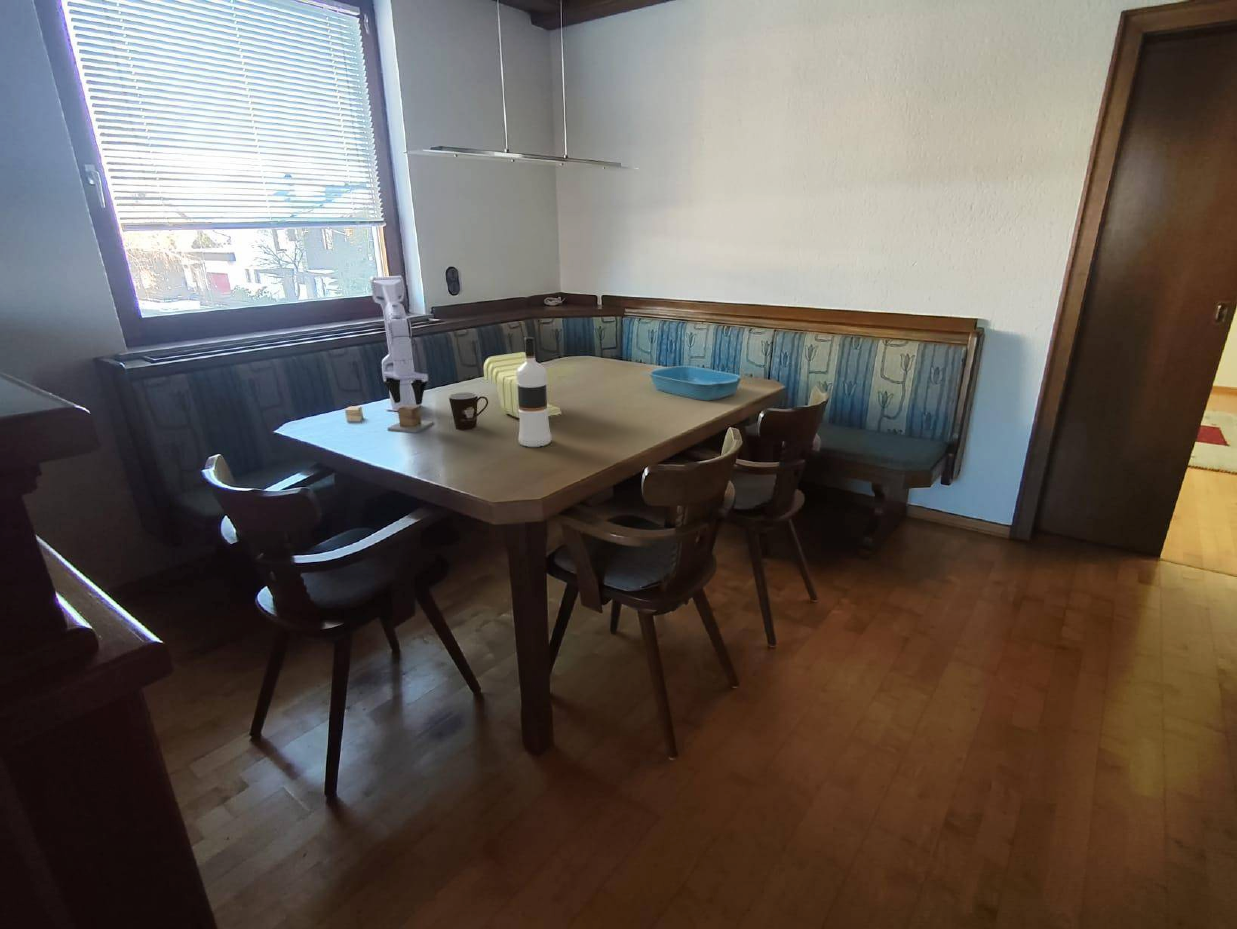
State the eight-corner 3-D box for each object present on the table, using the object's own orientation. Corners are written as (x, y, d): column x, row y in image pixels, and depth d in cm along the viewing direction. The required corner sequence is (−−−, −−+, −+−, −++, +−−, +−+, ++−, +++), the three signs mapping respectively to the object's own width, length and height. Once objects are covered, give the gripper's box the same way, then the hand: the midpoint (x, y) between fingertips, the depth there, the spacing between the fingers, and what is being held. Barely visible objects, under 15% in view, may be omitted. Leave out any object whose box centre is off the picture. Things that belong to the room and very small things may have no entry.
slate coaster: (406, 421, 208) (406, 419, 208) (434, 423, 205) (433, 421, 205) (387, 430, 199) (387, 427, 199) (416, 432, 196) (415, 430, 196)
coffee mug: (451, 432, 197) (447, 399, 193) (452, 424, 205) (449, 393, 201) (490, 429, 199) (487, 397, 195) (489, 421, 207) (487, 391, 203)
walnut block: (408, 422, 204) (406, 405, 202) (421, 423, 203) (419, 406, 201) (400, 426, 200) (397, 409, 198) (412, 427, 199) (410, 409, 197)
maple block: (350, 418, 213) (349, 406, 212) (363, 418, 213) (361, 406, 212) (346, 421, 209) (345, 409, 208) (359, 421, 209) (357, 409, 208)
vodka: (518, 448, 181) (510, 340, 171) (519, 438, 189) (512, 335, 179) (551, 447, 182) (546, 339, 171) (551, 437, 190) (546, 334, 180)
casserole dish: (638, 388, 249) (638, 370, 246) (679, 380, 262) (680, 362, 260) (710, 406, 222) (711, 386, 220) (752, 396, 236) (753, 376, 233)
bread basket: (486, 409, 221) (482, 357, 215) (527, 402, 230) (524, 351, 224) (534, 428, 199) (530, 371, 193) (576, 419, 208) (574, 364, 202)
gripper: (373, 360, 193) (380, 404, 198) (416, 362, 189) (421, 408, 194) (388, 356, 200) (393, 399, 204) (429, 358, 196) (434, 402, 200)
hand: (408, 403), depth 200 cm, fingers open, 7 cm apart
